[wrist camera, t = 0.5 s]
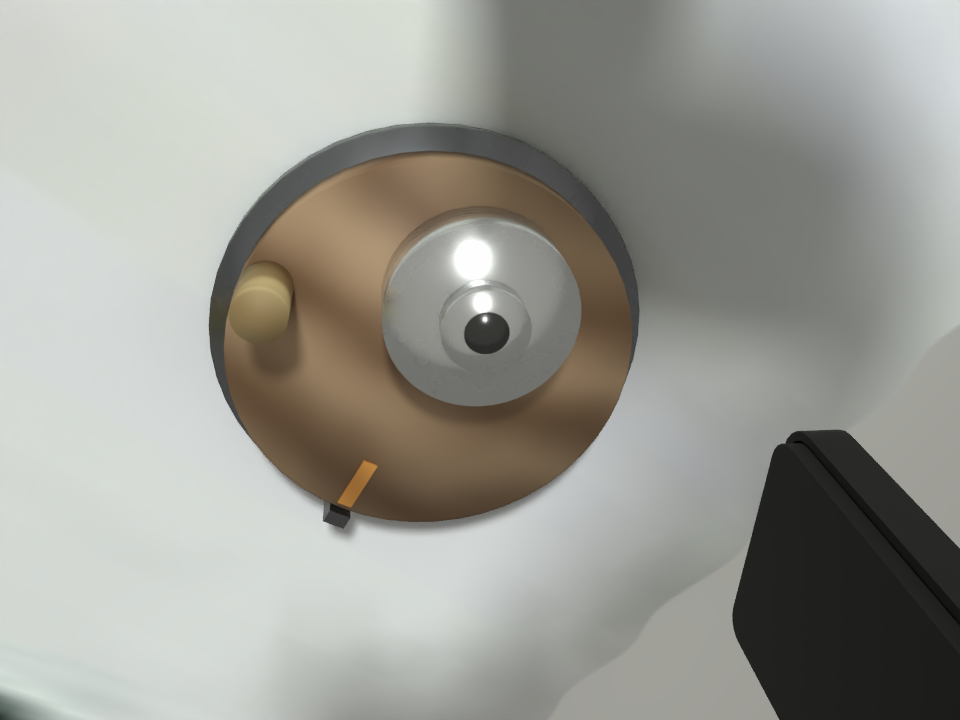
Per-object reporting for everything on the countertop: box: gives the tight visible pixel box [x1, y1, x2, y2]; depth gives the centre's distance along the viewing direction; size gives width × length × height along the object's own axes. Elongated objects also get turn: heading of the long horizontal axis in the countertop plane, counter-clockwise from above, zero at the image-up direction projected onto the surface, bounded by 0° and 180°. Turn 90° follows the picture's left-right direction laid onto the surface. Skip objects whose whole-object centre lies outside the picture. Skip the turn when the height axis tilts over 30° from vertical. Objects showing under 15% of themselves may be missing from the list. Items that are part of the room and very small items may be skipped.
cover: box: [381, 206, 581, 406], centre depth 37 cm, size 9×9×4 cm
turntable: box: [224, 151, 632, 522], centre depth 40 cm, size 20×20×5 cm
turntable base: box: [209, 123, 639, 528], centre depth 41 cm, size 22×22×3 cm
